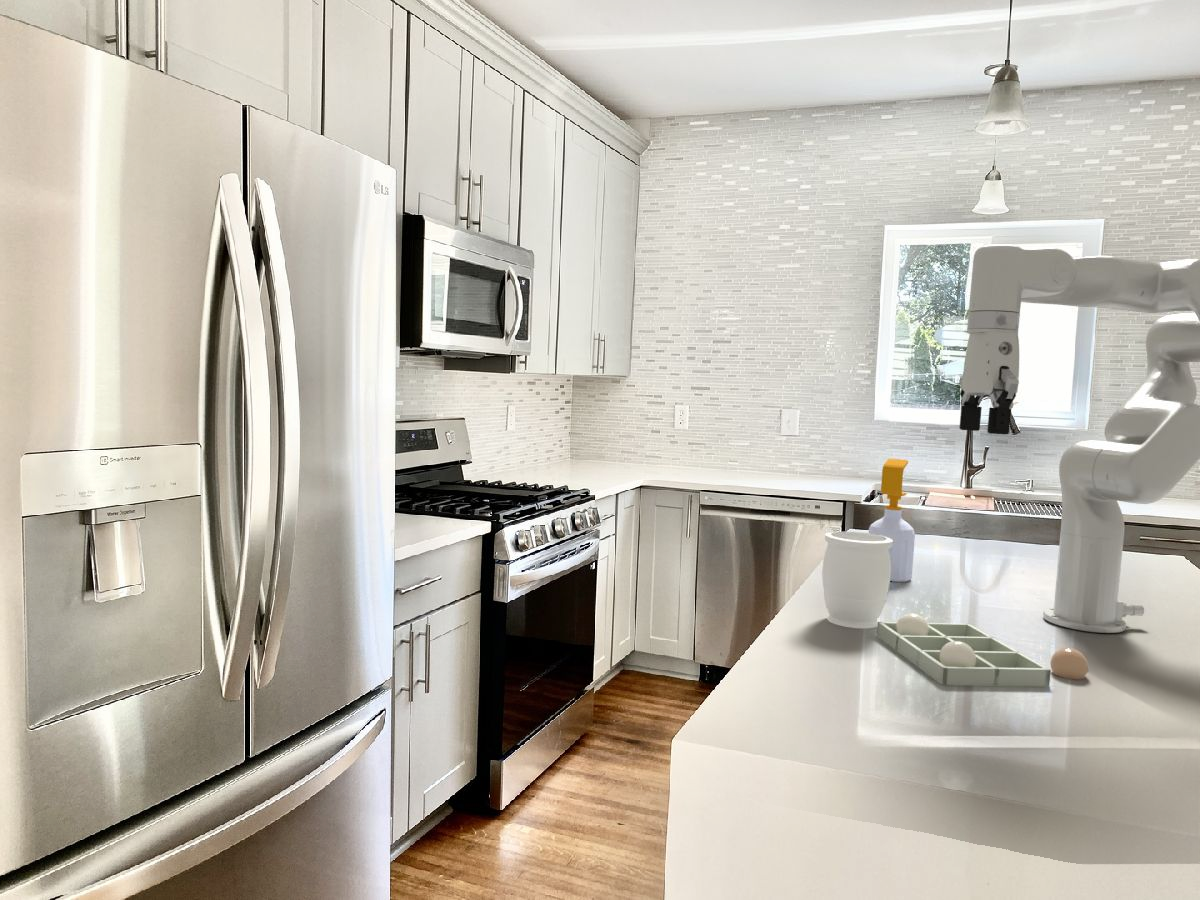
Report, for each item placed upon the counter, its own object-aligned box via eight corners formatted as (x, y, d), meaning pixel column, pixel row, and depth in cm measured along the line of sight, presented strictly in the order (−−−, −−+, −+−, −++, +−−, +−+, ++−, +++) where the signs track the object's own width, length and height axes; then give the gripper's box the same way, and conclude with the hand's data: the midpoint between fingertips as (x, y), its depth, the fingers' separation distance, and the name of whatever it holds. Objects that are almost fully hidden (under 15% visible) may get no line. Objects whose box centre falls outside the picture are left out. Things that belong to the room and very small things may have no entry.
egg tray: (967, 643, 138) (968, 623, 138) (1048, 693, 117) (1050, 669, 117) (876, 642, 137) (877, 621, 137) (941, 692, 116) (943, 668, 115)
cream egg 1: (919, 639, 136) (921, 609, 136) (933, 648, 131) (935, 618, 131) (890, 639, 136) (892, 609, 135) (902, 648, 131) (905, 617, 131)
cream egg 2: (964, 669, 122) (966, 636, 122) (981, 681, 117) (984, 647, 117) (931, 669, 122) (934, 636, 121) (947, 680, 117) (950, 646, 117)
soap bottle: (915, 577, 186) (924, 460, 184) (905, 584, 178) (913, 462, 176) (872, 570, 191) (880, 456, 189) (860, 577, 183) (868, 459, 181)
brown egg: (1073, 676, 125) (1076, 644, 124) (1094, 687, 120) (1097, 654, 120) (1042, 675, 124) (1044, 643, 124) (1061, 687, 120) (1064, 653, 119)
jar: (887, 623, 148) (893, 534, 147) (885, 640, 138) (892, 544, 137) (821, 615, 152) (827, 528, 150) (815, 631, 142) (822, 538, 141)
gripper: (1045, 322, 133) (1034, 436, 135) (990, 329, 150) (980, 430, 152) (996, 319, 133) (985, 434, 134) (946, 326, 150) (937, 427, 151)
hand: (983, 431), depth 143 cm, fingers open, 9 cm apart
